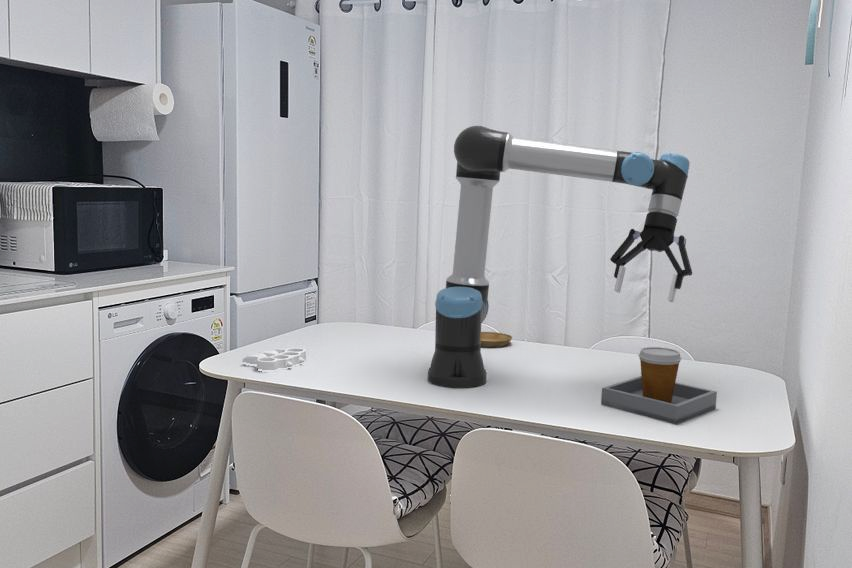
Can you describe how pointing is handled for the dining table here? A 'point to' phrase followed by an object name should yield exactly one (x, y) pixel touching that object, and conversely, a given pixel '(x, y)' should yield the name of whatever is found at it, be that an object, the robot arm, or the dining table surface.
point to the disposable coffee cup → (659, 372)
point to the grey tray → (679, 410)
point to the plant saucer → (494, 339)
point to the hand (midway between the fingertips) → (643, 296)
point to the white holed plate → (277, 358)
